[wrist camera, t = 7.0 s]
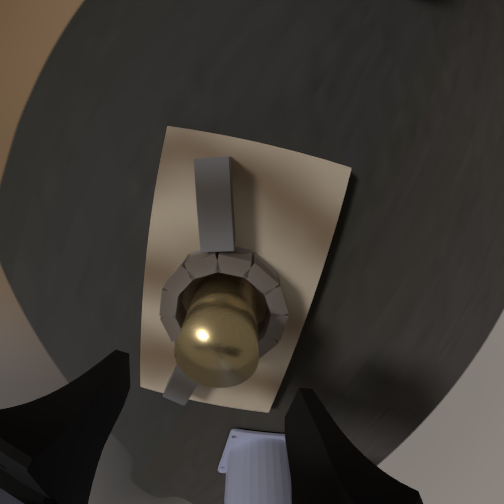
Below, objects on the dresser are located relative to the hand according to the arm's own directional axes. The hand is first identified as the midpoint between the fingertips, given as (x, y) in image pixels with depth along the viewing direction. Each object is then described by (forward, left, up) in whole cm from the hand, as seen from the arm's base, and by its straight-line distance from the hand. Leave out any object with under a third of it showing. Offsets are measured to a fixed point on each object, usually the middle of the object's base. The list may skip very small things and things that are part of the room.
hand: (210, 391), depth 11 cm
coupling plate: (0, 0, -9) cm, 9 cm away
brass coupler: (0, 0, -8) cm, 8 cm away
